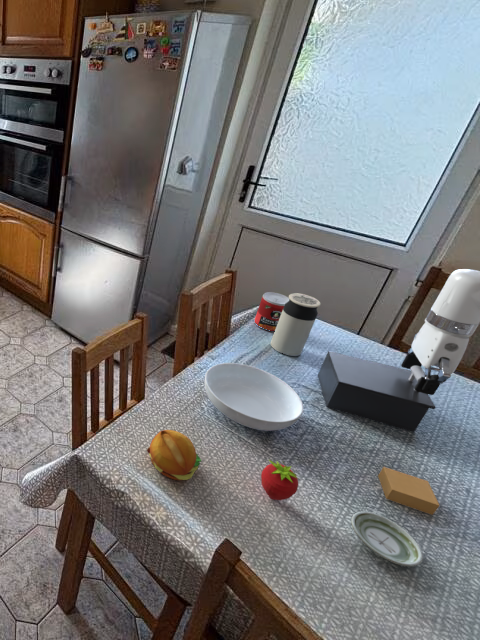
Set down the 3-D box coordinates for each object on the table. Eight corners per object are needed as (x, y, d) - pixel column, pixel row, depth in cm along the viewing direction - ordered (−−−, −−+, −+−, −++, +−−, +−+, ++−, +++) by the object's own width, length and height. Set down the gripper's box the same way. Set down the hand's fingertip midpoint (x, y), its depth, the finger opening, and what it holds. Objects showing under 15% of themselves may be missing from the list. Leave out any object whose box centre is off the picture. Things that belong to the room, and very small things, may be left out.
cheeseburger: (204, 461, 93) (211, 438, 87) (184, 500, 87) (190, 478, 82) (159, 435, 99) (163, 411, 94) (138, 470, 94) (141, 447, 88)
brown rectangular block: (421, 490, 86) (428, 481, 85) (432, 515, 81) (440, 505, 80) (377, 475, 89) (383, 466, 88) (386, 499, 85) (392, 489, 83)
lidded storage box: (395, 395, 110) (408, 372, 107) (414, 432, 99) (429, 408, 96) (317, 375, 118) (327, 353, 114) (326, 407, 107) (337, 384, 104)
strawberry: (248, 497, 85) (262, 465, 81) (262, 477, 89) (276, 444, 85) (281, 520, 81) (298, 486, 77) (294, 497, 85) (310, 464, 81)
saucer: (423, 550, 76) (429, 542, 75) (409, 585, 71) (416, 578, 70) (356, 508, 83) (361, 501, 82) (339, 538, 78) (344, 530, 77)
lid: (412, 373, 106) (422, 357, 104) (434, 409, 96) (444, 392, 93) (327, 353, 114) (334, 337, 112) (337, 383, 104) (345, 367, 101)
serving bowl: (224, 371, 120) (230, 352, 117) (308, 418, 104) (318, 397, 101) (183, 401, 109) (188, 381, 106) (270, 458, 94) (279, 436, 91)
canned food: (256, 329, 138) (266, 301, 133) (251, 317, 144) (260, 290, 140) (283, 334, 135) (294, 306, 130) (277, 321, 142) (287, 294, 137)
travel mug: (302, 360, 124) (323, 309, 116) (270, 351, 127) (289, 302, 120) (299, 345, 130) (319, 297, 122) (269, 338, 134) (287, 290, 126)
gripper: (494, 348, 85) (452, 409, 92) (457, 307, 99) (423, 364, 106) (443, 337, 88) (407, 397, 96) (414, 300, 102) (385, 355, 109)
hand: (416, 379), depth 101 cm, fingers open, 9 cm apart
